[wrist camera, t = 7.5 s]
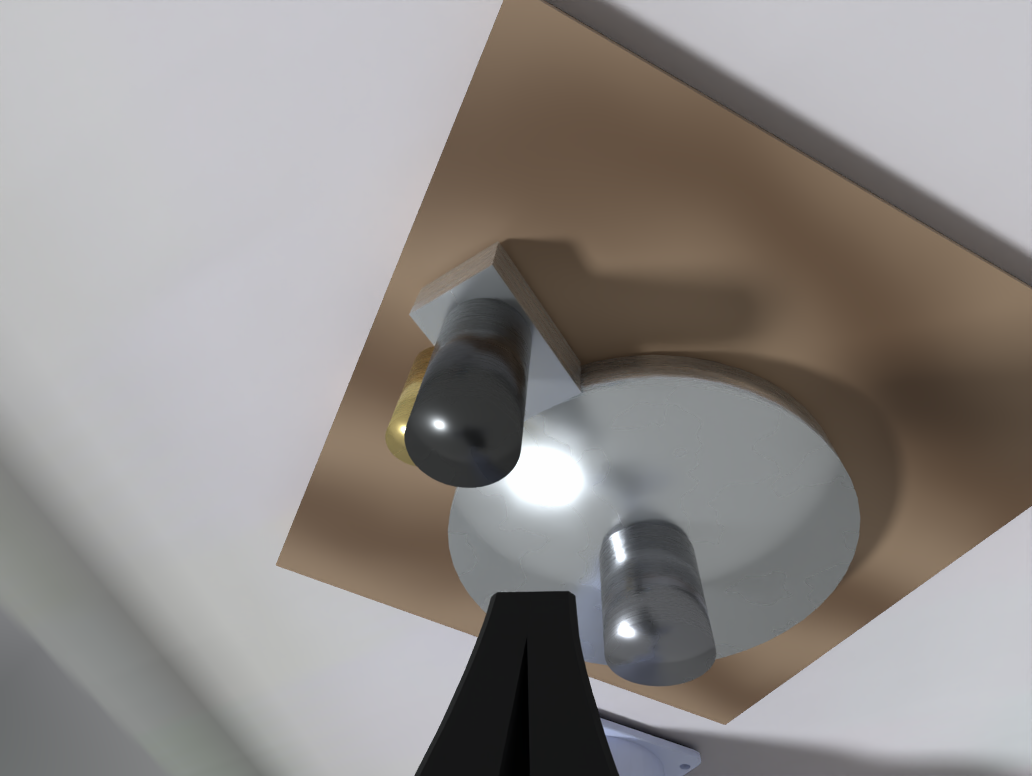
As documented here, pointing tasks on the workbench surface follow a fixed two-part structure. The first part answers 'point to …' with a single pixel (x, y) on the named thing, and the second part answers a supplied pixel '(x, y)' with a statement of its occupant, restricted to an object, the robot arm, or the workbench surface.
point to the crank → (619, 463)
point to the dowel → (406, 407)
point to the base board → (691, 329)
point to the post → (654, 607)
